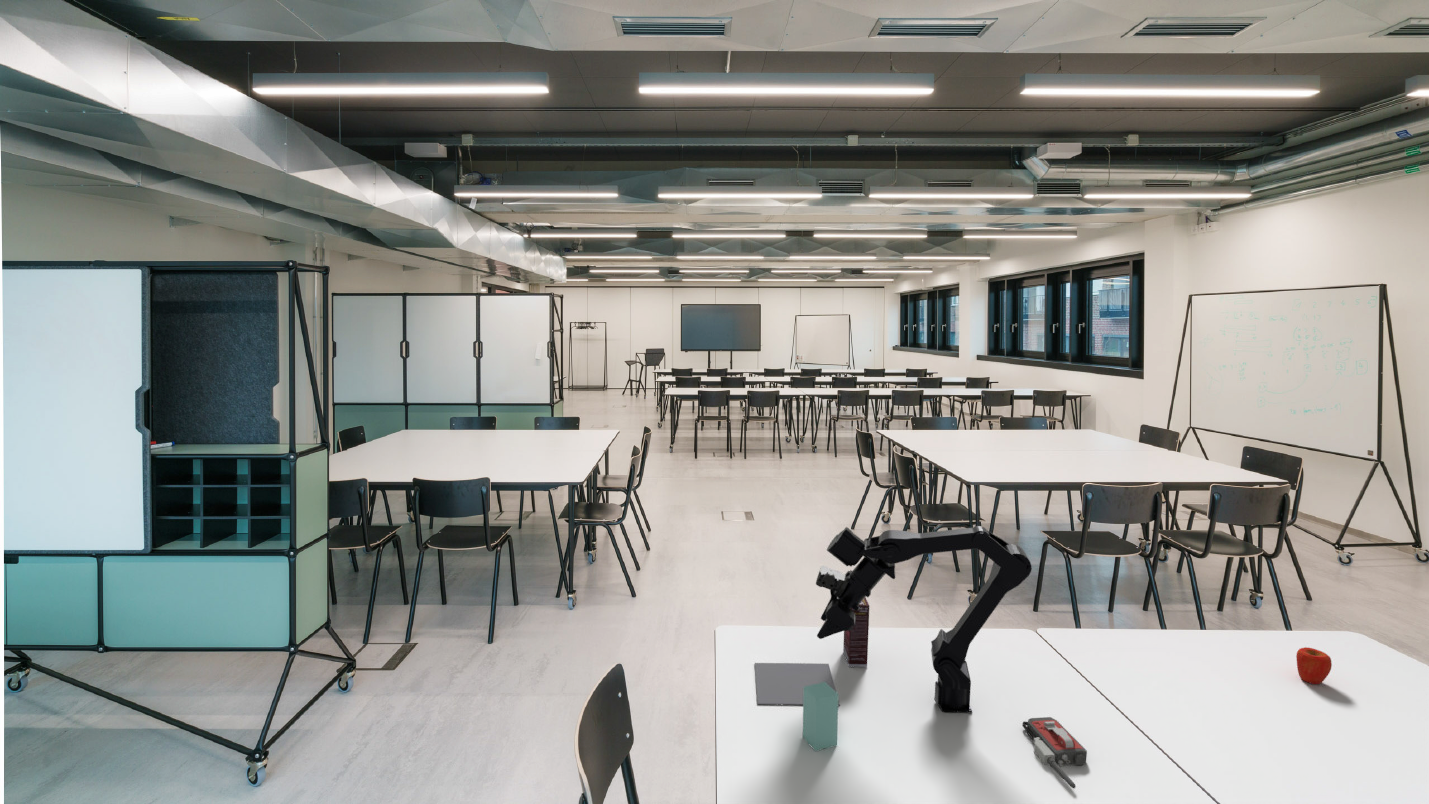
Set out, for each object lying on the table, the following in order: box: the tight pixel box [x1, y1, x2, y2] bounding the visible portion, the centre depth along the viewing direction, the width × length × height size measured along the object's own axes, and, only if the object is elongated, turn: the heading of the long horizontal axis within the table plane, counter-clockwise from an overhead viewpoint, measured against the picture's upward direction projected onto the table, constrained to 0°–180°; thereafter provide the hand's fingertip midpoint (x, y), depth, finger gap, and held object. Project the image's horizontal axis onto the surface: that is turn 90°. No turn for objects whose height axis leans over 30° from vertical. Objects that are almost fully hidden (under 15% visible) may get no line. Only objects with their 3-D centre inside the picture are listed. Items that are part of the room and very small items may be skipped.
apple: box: [1295, 647, 1333, 685], centre depth 168 cm, size 6×6×8 cm
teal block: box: [802, 682, 839, 752], centre depth 144 cm, size 5×5×11 cm
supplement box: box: [842, 597, 870, 668], centre depth 177 cm, size 9×5×16 cm, turn 179°
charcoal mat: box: [754, 662, 841, 707], centre depth 167 cm, size 18×18×1 cm
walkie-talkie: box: [1022, 716, 1088, 789], centre depth 140 cm, size 9×4×20 cm
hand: (820, 628), depth 163 cm, fingers open, 9 cm apart
